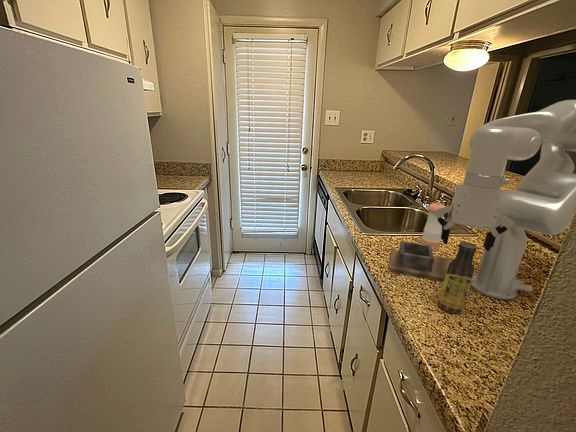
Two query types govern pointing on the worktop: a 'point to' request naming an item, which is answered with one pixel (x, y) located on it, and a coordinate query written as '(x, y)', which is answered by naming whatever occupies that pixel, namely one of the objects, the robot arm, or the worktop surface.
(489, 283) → the robot arm
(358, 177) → the worktop surface
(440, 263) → the bottle caddy
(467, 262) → the sauce bottle
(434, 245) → the pepper shaker
